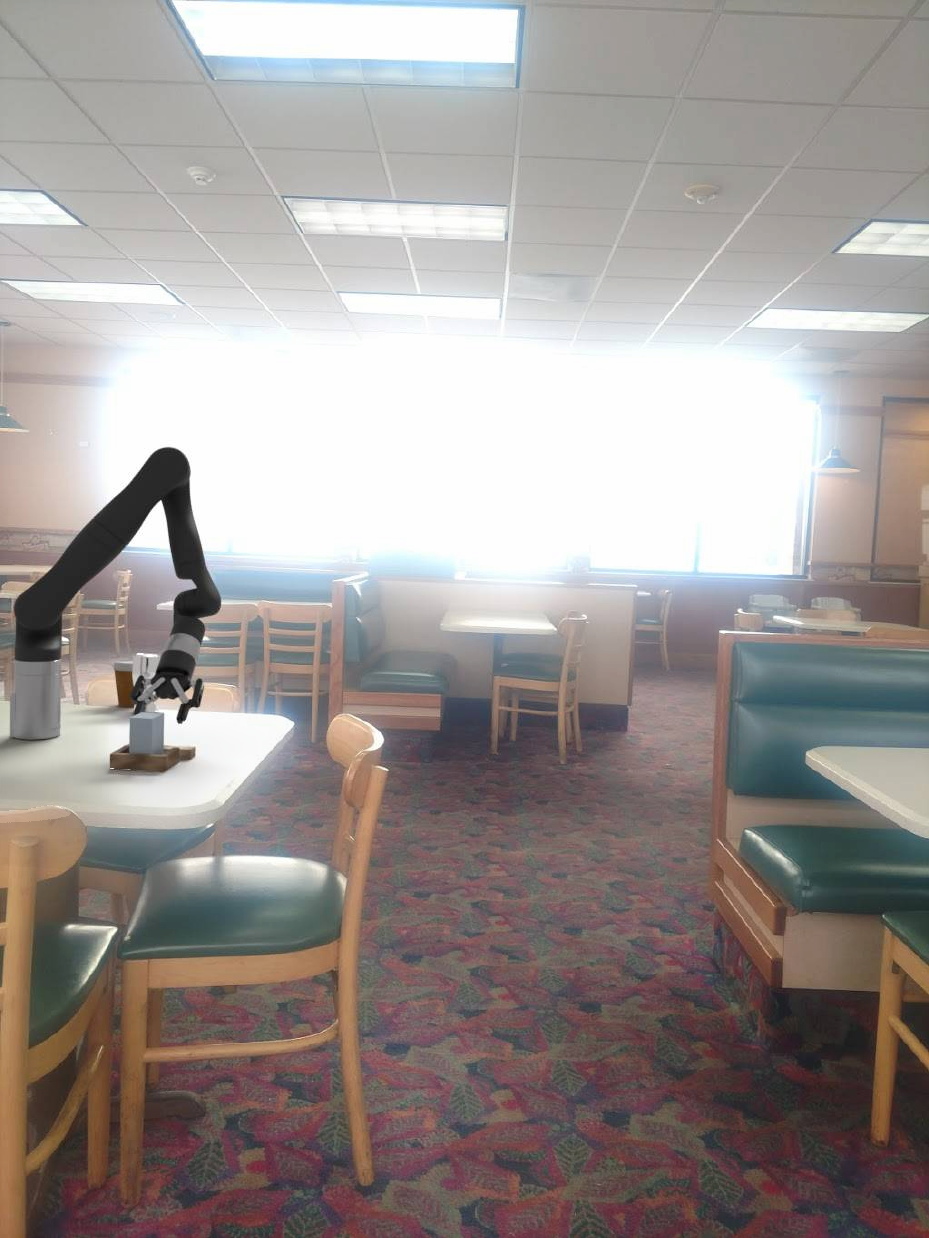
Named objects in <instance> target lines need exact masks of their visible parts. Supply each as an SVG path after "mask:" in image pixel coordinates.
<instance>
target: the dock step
mask: <svg viewBox="0 0 929 1238" xmlns="http://www.w3.org/2000/svg"><path fill="white" fill-rule="evenodd" d="M126 745H129V743H127V744H126ZM173 747H177V748H179V760H192V759H194V758H196V746H191V745H190V746H187V745H170V744H169V745H168V744H167V745H166V744H164V753H166V752H167V751H169V750H170V749H172V748H173Z"/></svg>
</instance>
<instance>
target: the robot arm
mask: <svg viewBox="0 0 929 1238" xmlns="http://www.w3.org/2000/svg"><path fill="white" fill-rule="evenodd" d="M191 475H192V474H191V465H190V461H189V459H188V458H187V456H186V454H185V453H184V452H183V451H182V450H180V449H179V448H176V447H173V446H165V447H164V446H163V447H161V448H158V449H157V450H155V451H153V452H152V453H151V454H150V455H149V457H148V458H147V460H145V462H144V463H143V465H142V466H141V468H140V469H139V470H138V472H137V473H136V474H135V475H134V476H133V478H132V479H131V480H130V482H129V483H128V484H127V485H125V487H124V488H123V489H122V490H121V491H120V492H119V493H117V494H116V495H115V496H114V497H113V498H112V499H111V500H110V501H109V502H108V503H106V504H105V506H103V508H102V509H100V510H99V512H98V513H96V514H95V515H94V516H93V517H92V518H91V519H90V521H88V522H87V524H85V525H84V527H83V528H82V529H81V530H80V531H79V532H78V533H77V535H76V536H75V537H74V538H73V539H72V541H70V544H68V545H67V547H66V548H65V551H63V553H62V555H61V556H60V558H59V559H58V560H57V561H56V562H55V563H54V565H53V566H52V567H51V568H50V569H49V570H48V571H47V572H46V573H45V574H44V575H42V576H41V577H40V578H38V580H37V581H35V582H34V583H33V584H32V585H31V586H29V587H28V588H27V589H25V590H24V591H23V592H21V593H20V594H19V595H18V596H17V598H16V599H15V601H14V604H13V614H14V617H15V641H14V643H15V644H14V659H13V660H14V664H13V665H14V666H13V667H14V668H13V669H14V675H13V676H14V677H13V678H14V687H13V688H14V689H13V691H14V692H12V693H11V694H10V696H9V737H10V738H14V739H18V740H29V741H30V740H33V741H34V740H45V739H53V738H56V737H59V736H60V735H61V715H62V712H61V710H62V709H61V703H62V701H61V700H62V699H61V698H62V697H61V695H62V694H61V693H62V692H61V691H62V647H63V646H62V645H63V644H62V643H63V638H62V637H63V612H64V611H65V609H66V608H67V607H68V605H69V604H70V603H71V601H72V600H73V599H74V598H75V597H76V596H77V594H78V593H79V592H80V590H81V589H82V588H83V587H84V586H86V585H87V583H89V582H90V581H91V580H92V579H94V578H95V577H96V576H97V575H98V574H99V573H101V572H102V571H103V570H104V569H106V567H108V566H109V565H110V564H111V563H112V562H113V561H114V560H115V559H116V558H117V557H118V556H119V555H120V554H121V552H123V551H124V550H125V549H126V547H127V546H128V545H129V544H130V542H132V540H134V538H135V536H136V535H137V533H138V532H139V530H140V529H141V528H142V526H143V524H144V522H145V521H146V520H147V518H148V516H149V514H150V513H151V512H152V510H153V509H154V508H155V506H157V504H158V503H160V502H161V504H162V507H163V510H164V517H165V520H166V527H167V536H168V543H169V549H170V555H171V558H172V563H173V568H174V573H175V575H176V577H177V578H178V579H179V580H182V581H183V580H185V581H186V580H187V581H189V580H191V581H192V582H193V584H194V585H195V587H194V588H191V589H185V590H183V591H181V592H179V593H178V594H177V595H176V597H175V598H174V599H173V600H174V601H173V610H172V611H173V620H172V621H173V626H172V628H171V630H170V634H169V637H168V639H167V641H166V642H165V645H164V646H163V647H164V648H163V650H162V653H161V655H160V661H159V664H158V666H157V669H156V673H155V676H154V677H153V678H152V679H147V678H144V676H142V675H141V676H139V677H138V679H137V681H136V683H135V686H134V688H133V690H132V692H131V694H130V698H131V700H132V702H133V704H134V705H136V704H137V705H136V708H135V710H134V712H133V716H135V715H137V714H139V713H141V712H145V710H146V706H147V705H148V704H150V703H151V702H155V701H156V700H157V701H158V700H159V699H160V700H166V699H169V700H174V701H175V700H176V699H179V701H180V702H181V704H180V705H179V708H178V712H177V715H176V717H175V718H176V723H177V724H179V725H181V724H183V722H185V721H186V720H187V717H188V715H189V712H190V709H191V708H196V709H198V708H200V707H201V703H202V700H203V699H202V698H203V695H204V694H203V693H204V690H205V685H204V682H203V679H202V678H197V679H196V680H192V679H193V676H194V673H195V668H196V667H197V663H198V662H199V657H200V656H199V655H200V652H201V651H200V650H201V646H202V643H203V641H204V637H205V633H206V627H205V623H204V622H203V621H202V619H203V618H206V617H207V618H209V617H212V616H215V615H217V614H218V613H219V612H220V610H221V608H222V597H221V594H220V592H219V590H218V587H217V586H216V584H215V582H214V580H213V579H212V576H211V574H210V572H209V570H208V567H207V565H206V560H205V555H204V550H203V546H202V545H203V544H202V541H201V537H200V534H199V531H198V527H197V524H196V520H195V515H194V512H193V506H192V501H191V479H190V478H191ZM200 619H201V620H200ZM149 685H152V686H151V687H149V688H148V689H147V687H148V686H149ZM191 688H192V690H193V693H192V698H189V699H188V697H187V695H186V692H187V691H188V690H190V689H191ZM144 689H147V690H146V692H145V693H144V694H143V692H144ZM154 691H155V694H154V695H153V692H154Z"/></svg>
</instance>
